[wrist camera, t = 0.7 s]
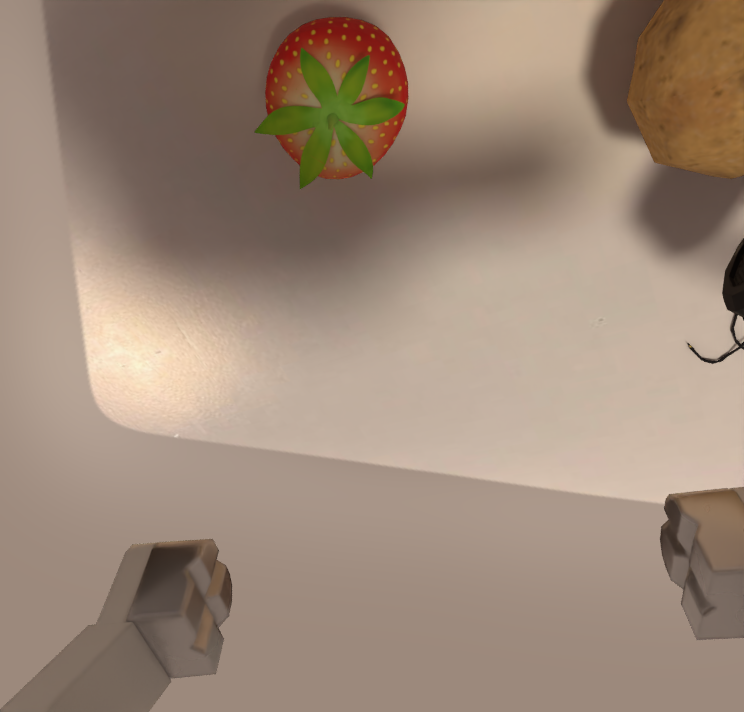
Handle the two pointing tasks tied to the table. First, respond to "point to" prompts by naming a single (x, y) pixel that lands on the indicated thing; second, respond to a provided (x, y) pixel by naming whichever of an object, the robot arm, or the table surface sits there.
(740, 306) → the headphones
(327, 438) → the table surface
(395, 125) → the fruit
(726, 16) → the potato
